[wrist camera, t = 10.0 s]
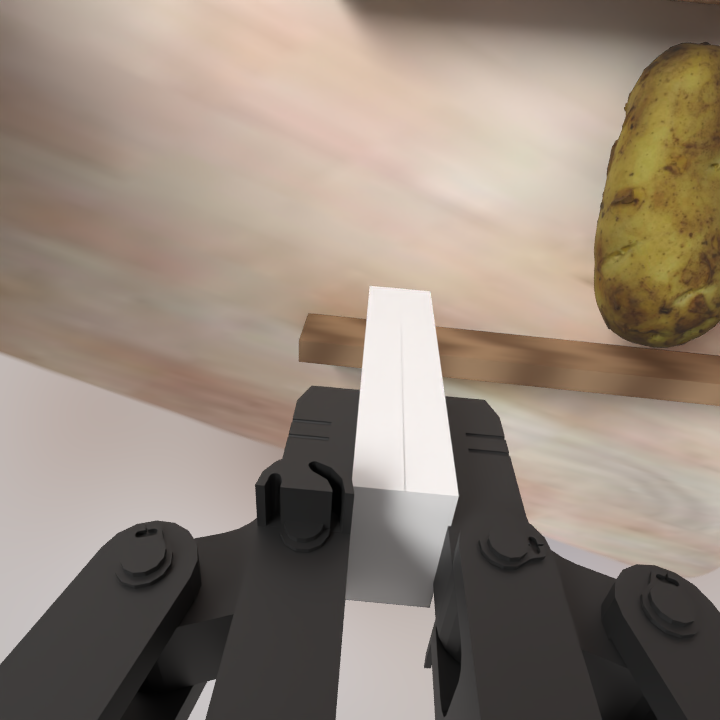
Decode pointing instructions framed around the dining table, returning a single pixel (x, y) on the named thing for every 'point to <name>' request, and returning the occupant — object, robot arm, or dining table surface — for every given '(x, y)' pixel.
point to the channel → (536, 359)
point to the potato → (664, 205)
